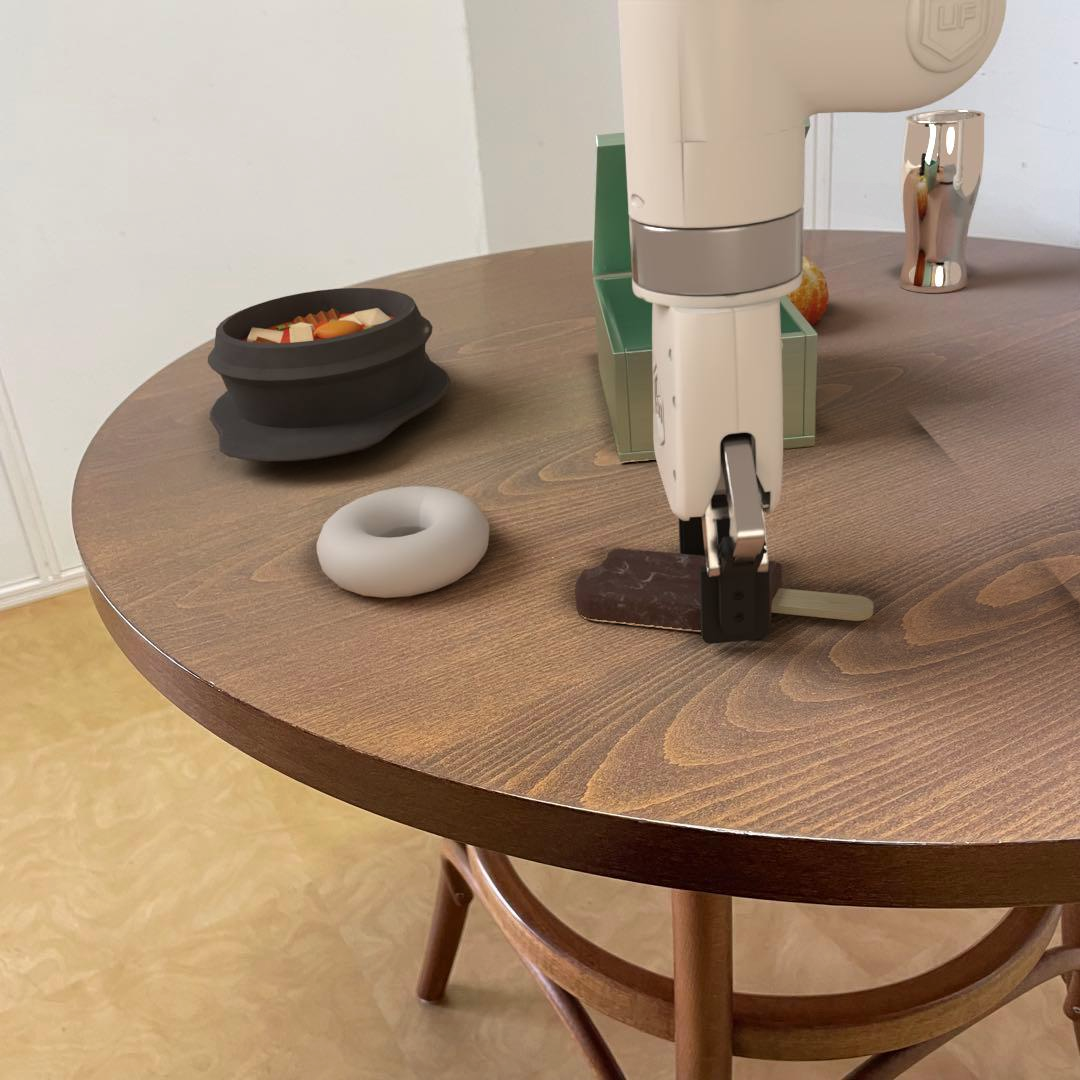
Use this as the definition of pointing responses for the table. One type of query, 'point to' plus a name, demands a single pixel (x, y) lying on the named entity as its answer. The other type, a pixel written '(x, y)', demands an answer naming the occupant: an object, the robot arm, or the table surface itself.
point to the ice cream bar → (687, 592)
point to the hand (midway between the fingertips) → (721, 596)
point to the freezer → (632, 371)
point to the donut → (403, 541)
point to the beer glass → (939, 196)
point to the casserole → (321, 373)
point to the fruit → (811, 293)
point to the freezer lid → (613, 206)
